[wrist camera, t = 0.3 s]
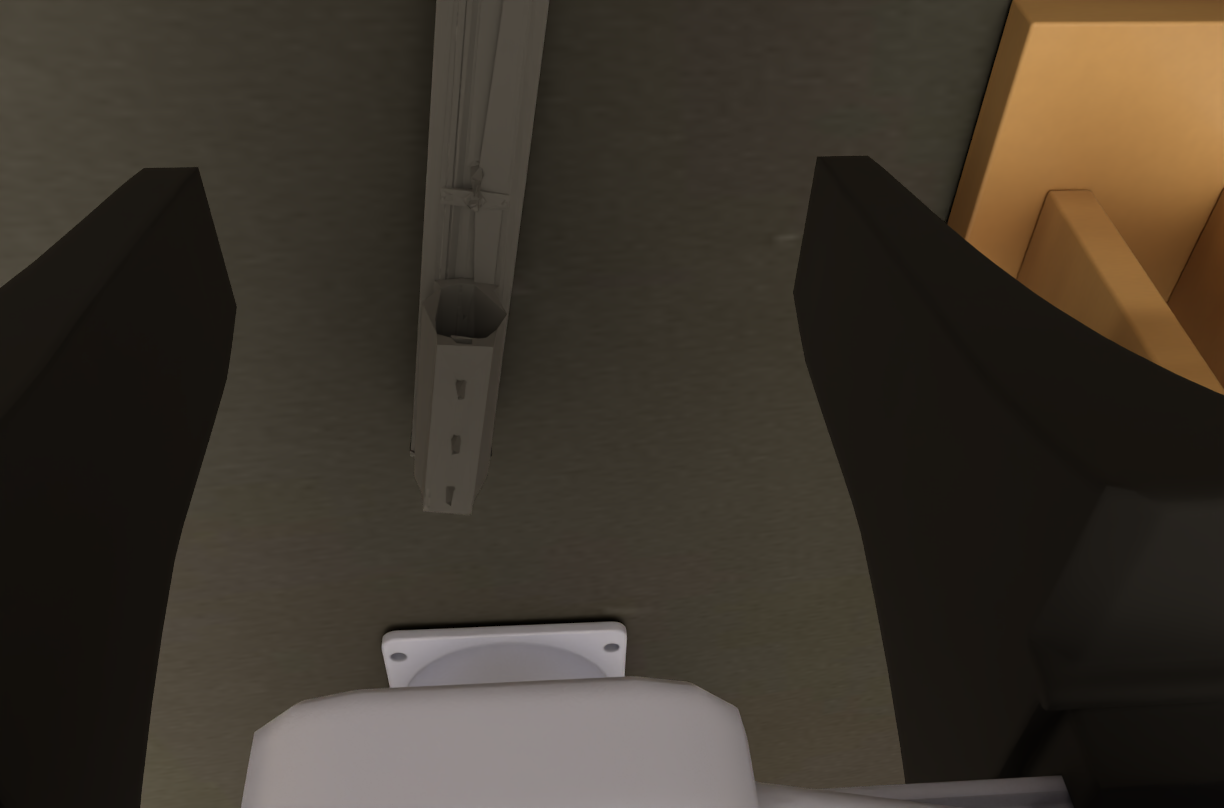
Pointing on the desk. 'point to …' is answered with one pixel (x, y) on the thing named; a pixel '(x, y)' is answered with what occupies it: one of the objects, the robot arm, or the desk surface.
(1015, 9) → the switch bracket
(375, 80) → the desk surface
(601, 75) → the desk surface
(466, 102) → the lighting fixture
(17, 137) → the desk surface
